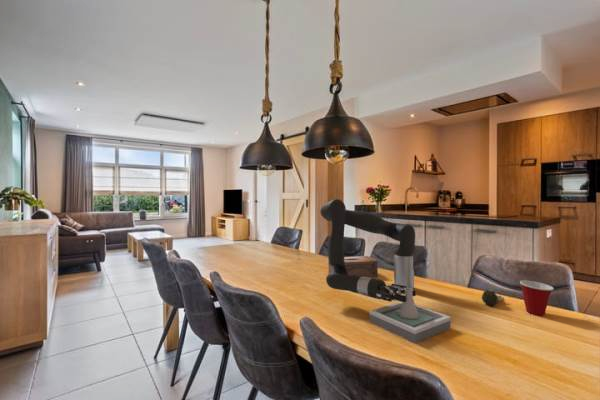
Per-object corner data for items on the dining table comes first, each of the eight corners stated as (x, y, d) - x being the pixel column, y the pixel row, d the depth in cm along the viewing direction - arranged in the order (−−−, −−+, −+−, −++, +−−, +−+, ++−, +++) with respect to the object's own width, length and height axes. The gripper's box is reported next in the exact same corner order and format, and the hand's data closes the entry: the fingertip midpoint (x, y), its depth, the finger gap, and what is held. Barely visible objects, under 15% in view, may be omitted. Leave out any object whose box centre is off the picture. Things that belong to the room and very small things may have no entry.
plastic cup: (556, 321, 113) (556, 289, 113) (521, 315, 118) (521, 285, 118) (550, 311, 122) (550, 282, 122) (518, 306, 128) (518, 278, 128)
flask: (420, 320, 106) (420, 292, 106) (399, 319, 107) (399, 291, 107) (417, 313, 113) (417, 286, 113) (397, 311, 114) (397, 285, 114)
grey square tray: (404, 310, 124) (404, 300, 124) (450, 328, 107) (450, 316, 107) (369, 321, 113) (369, 310, 113) (415, 343, 96) (415, 330, 96)
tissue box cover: (367, 271, 190) (367, 255, 190) (377, 277, 176) (377, 260, 176) (328, 273, 185) (328, 257, 185) (335, 280, 171) (335, 262, 171)
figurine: (507, 291, 136) (499, 292, 126) (506, 306, 135) (498, 308, 125) (487, 288, 142) (478, 288, 131) (486, 302, 141) (477, 303, 130)
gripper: (361, 281, 115) (402, 290, 104) (379, 274, 126) (418, 281, 115) (362, 301, 115) (402, 312, 104) (379, 292, 126) (418, 301, 115)
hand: (410, 296), depth 109 cm, fingers open, 8 cm apart
